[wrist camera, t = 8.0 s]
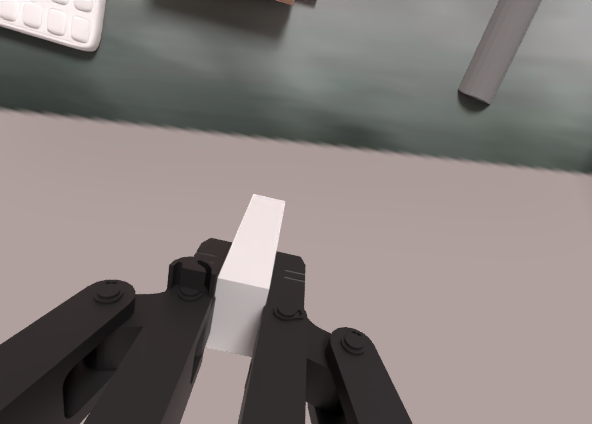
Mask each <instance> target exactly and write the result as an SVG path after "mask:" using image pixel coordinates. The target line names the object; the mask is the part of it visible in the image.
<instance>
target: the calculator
mask: <svg viewBox="0 0 592 424" xmlns="http://www.w3.org/2000/svg"><path fill="white" fill-rule="evenodd" d="M29 1H30V2H29ZM33 2H34V3H33ZM105 4H106V0H0V26H1V27H4V28H8V29H11V30H14V31H18V32H21V33H24V34H28V35H31V36H35V37H38V38H41V39H45V40H48V41H51V42H55V43H58V44H61V45H65V46H68V47H72V48H75V49H79V50H83V51H95V50H96V49H97V48H98V46H99V43H100V40H101V34H102V27H103V19H104V12H105ZM59 10H60V11H59Z"/></svg>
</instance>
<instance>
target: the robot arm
mask: <svg viewBox="0 0 592 424" xmlns="http://www.w3.org/2000/svg"><path fill="white" fill-rule="evenodd" d="M284 207H285V201H281V200H277V199H272V198H268V197H264V196H259V195H255V194H253V197H252V199H251V201H250V203H249V206H248V208H247V211H246V213H245V215H244V218H243V220H242V222H241V225H240V227H239V229H238V232H237V234H236V236H235V239H234V241H233V243H232V242H227V241H223V240H218V239H214V238H210V239H208V240H206V241H205V242H203V243H201V245H200V247H199V248H198V250H197V253H195V255H194V257H182V258H179V259H177V260H175V261H173V262H172V263H171V264H170V265H169V274H168V285H167V290H166V291H165V292H162V293H157V294H135V290H134V288H133V286H132V285H130V284H129V283H127V282H124V281H120V280H104V281H99V282H96V283H94V284H92V285H90V286H88V287H86V288H85V289H84V290H82V291H80V292H79V293H77V294H76V295H74V296H73V297H71V298H70V299H68V300H67V301H65V302H64V303H62V304H61V305H59V306H58V307H56V308H55V309H53V310H52V311H50V312H49V313H47V314H46V315H44V316H43V317H41V318H40V319H38V320H37V321H35V322H34V323H32V324H31V325H29V326H28V327H26V328H25V329H23V330H22V331H20V332H19V333H17V334H16V335H14V336H13V337H11V338H10V339H8V340H7V341H5V342H4V343H2V344H1V345H0V424H80V423H81V422H82V420H83V419H84V418H85V417H86V416H87V415H88V414H89V413H90V414H89V415H88V417H87V419H86V420H85V422H84V424H180V422H181V419H182V416H183V413H184V411H185V407H186V405H187V402H188V399H189V397H190V393H191V391H192V388H193V385H194V383H195V380H196V377H197V374H198V371H199V369H200V366H201V363H202V357H203V352H204V348H205V345H206V343H207V346H206V348H211V349H215V350H220V351H225V352H230V353H235V354H240V355H244V356H249V357H252V359H251V364H250V368H249V372H248V376H247V380H246V384H245V391H244V396H243V402H242V406H241V411H240V415H239V420H238V424H305V405H306V402H308V410H309V414H310V419H311V423H312V424H412V422H411V420H410V418H409V416H408V413H407V411H406V409H405V407H404V405H403V403H402V401H401V399H400V397H399V395H398V393H397V391H396V389H395V387H394V385H393V383H392V381H391V379H390V377H389V375H388V372H387V371H386V369H385V366H384V364H383V362H382V360H381V358H380V356H379V354H378V352H377V350H376V348H375V346H374V344H373V343H372V341H371V340H370V339H369V338H368V337H367V336H366V335H365V334H363V333H362V332H360V331H358V330H356V329H353V328H348V327H343V328H338V329H336V330H334V331H333V332H332V334H331V333H329V332H327V331H325V330H322V329H320V328H319V327H317V326H315V325H314V324H313V323H312V322H311V321H310V320H309V319H308V318H307V314H306V311H305V310H304V293H305V292H304V291H305V264H304V262H303V260H302V258H301V257H299V256H295V255H290V254H286V253H281V252H277V251H276V250H277V244H278V239H279V234H280V228H281V223H282V218H283V212H284Z"/></svg>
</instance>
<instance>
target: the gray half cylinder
mask: <svg viewBox="0 0 592 424" xmlns="http://www.w3.org/2000/svg"><path fill="white" fill-rule="evenodd" d="M540 2H541V0H499V2H498V4H497V6H496V8H495V10H494V13H493V15H492V17H491V19H490V21H489V23H488V26H487V28H486V30H485V32H484V34H483V36H482V39H481V41H480V43H479V45H478V47H477V49H476V52H475V54H474V56H473V58H472V60H471V62H470V65H469V67H468V69H467V71H466V73H465V75H464V77H463V80H462V82H461V84H460V86H459V88H458V89H459V90H460V91H461V92H462V93H464V94H466V95H468V96H471V97H473V98H475V99H478V100H480V101H482V102H484V103H487V104H491V103H492V101H493V99H494V97H495V94H496V92H497V90H498V88H499V86H500V84H501V82H502V80H503V78H504V76H505V74H506V72H507V70H508V68H509V66H510V64H511V62H512V60H513V58H514V56H515V54H516V52H517V49H518V47H519V45H520V43H521V41H522V39H523V37H524V35H525V33H526V31H527V29H528V27H529V25H530V23H531V21H532V19H533V17H534V15H535V13H536V11H537V9H538V7H539V5H540Z"/></svg>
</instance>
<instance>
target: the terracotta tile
mask: <svg viewBox="0 0 592 424" xmlns="http://www.w3.org/2000/svg"><path fill="white" fill-rule="evenodd" d="M275 1H278V2H282V3H285V4H289V5H292V6H293V5H294V1H295V0H275Z"/></svg>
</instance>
